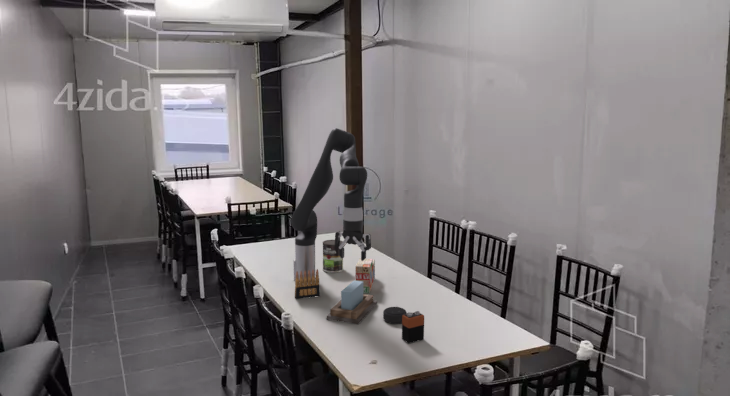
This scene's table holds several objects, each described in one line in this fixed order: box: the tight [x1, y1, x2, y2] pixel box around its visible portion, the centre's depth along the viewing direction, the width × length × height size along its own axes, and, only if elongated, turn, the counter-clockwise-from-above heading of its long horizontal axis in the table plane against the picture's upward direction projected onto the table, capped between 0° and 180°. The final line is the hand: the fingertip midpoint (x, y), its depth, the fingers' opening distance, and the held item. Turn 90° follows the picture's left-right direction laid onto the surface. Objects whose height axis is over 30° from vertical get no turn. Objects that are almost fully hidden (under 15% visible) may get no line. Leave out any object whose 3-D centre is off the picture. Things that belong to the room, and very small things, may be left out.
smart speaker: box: [382, 306, 408, 325], centre depth 210 cm, size 9×9×4 cm
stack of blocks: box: [354, 257, 376, 294], centre depth 249 cm, size 21×6×12 cm, turn 172°
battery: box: [401, 310, 425, 344], centre depth 192 cm, size 4×7×10 cm, turn 121°
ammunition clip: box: [294, 268, 321, 300], centre depth 233 cm, size 11×2×12 cm, turn 112°
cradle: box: [326, 293, 378, 325], centre depth 217 cm, size 13×22×4 cm, turn 160°
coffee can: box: [322, 239, 344, 273], centre depth 272 cm, size 10×10×14 cm
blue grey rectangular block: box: [340, 280, 364, 310], centre depth 217 cm, size 4×14×9 cm, turn 161°
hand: (352, 258), depth 214 cm, fingers open, 8 cm apart
